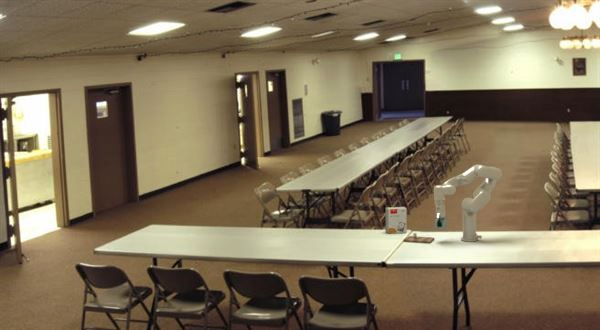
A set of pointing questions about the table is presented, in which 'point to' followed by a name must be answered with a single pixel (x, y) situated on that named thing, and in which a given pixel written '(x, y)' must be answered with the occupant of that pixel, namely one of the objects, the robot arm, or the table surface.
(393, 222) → the hard drive box
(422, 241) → the base board
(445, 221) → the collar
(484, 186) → the robot arm
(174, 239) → the table surface
